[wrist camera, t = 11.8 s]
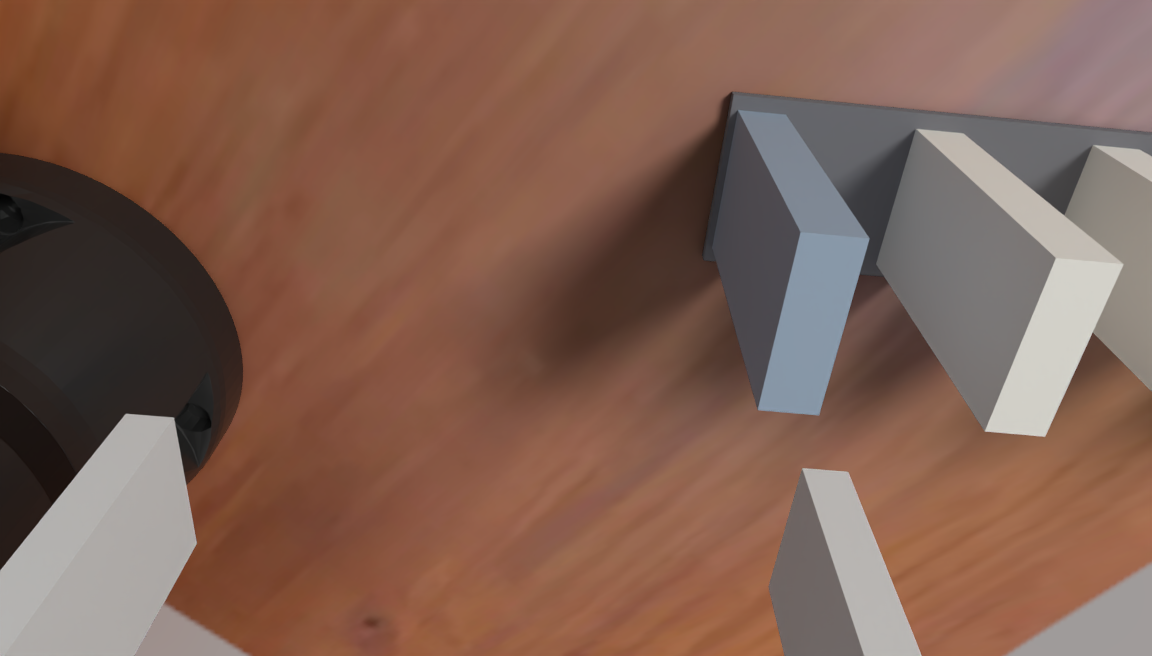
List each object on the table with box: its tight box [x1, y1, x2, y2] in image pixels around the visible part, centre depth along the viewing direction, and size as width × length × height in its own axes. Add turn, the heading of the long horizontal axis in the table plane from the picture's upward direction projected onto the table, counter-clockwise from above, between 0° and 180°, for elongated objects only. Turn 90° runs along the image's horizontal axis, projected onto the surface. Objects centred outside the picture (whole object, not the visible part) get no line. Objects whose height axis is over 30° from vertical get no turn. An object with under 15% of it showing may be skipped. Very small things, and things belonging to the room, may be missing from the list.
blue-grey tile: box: [712, 110, 870, 415], centre depth 25 cm, size 2×5×10 cm, turn 174°
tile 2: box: [876, 129, 1124, 437], centre depth 25 cm, size 2×5×10 cm, turn 175°
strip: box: [702, 92, 1152, 277], centre depth 30 cm, size 26×6×1 cm, turn 85°
